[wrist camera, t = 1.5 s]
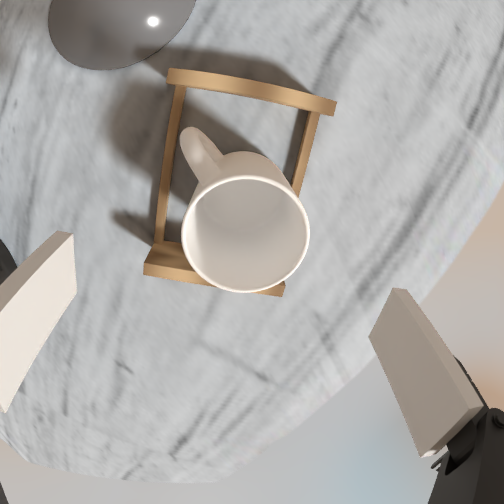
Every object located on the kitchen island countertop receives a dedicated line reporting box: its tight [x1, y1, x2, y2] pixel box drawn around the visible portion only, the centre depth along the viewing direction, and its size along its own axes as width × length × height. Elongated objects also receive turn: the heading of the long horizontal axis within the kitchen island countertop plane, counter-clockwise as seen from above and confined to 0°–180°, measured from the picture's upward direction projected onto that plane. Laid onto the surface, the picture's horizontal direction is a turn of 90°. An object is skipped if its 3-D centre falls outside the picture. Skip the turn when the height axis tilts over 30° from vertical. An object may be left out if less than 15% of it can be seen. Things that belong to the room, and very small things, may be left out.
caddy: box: [143, 68, 337, 297], centre depth 26 cm, size 13×17×5 cm
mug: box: [180, 127, 310, 292], centre depth 24 cm, size 12×8×10 cm
